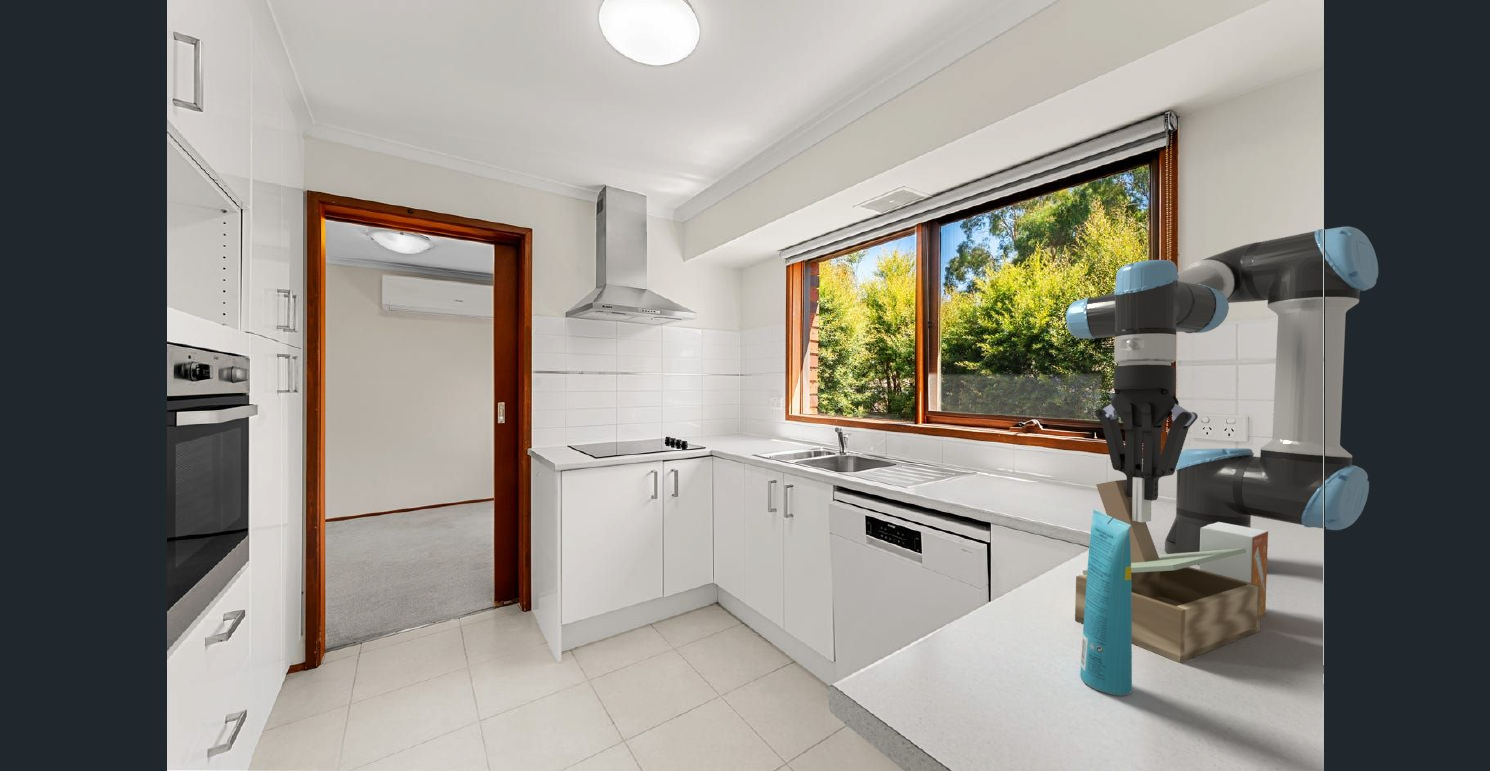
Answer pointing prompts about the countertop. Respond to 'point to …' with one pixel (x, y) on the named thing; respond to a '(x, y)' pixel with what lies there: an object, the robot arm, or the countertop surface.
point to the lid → (1149, 536)
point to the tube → (1108, 608)
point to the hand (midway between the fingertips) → (1141, 520)
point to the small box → (1241, 565)
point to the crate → (1186, 611)
